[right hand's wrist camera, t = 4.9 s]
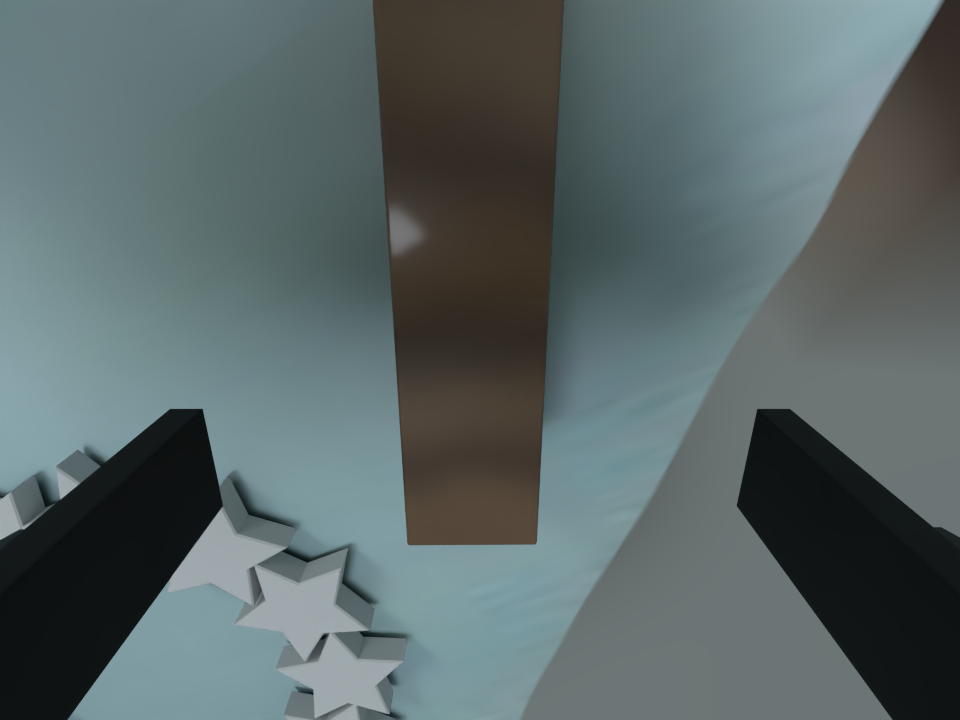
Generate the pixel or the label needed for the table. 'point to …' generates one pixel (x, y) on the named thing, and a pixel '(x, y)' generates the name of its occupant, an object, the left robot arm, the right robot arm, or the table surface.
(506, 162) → the bar
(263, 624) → the decorative wreath
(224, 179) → the table surface
